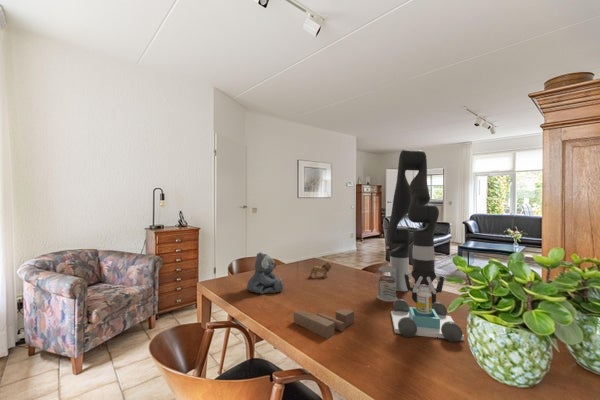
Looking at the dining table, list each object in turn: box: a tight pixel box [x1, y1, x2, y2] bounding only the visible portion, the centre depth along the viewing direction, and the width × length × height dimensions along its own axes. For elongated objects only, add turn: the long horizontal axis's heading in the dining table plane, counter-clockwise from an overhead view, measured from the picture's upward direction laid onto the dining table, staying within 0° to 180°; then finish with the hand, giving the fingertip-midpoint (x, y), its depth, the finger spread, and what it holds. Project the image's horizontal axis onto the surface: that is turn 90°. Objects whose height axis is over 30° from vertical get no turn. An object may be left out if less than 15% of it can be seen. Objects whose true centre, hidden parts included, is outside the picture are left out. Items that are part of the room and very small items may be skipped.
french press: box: [372, 245, 399, 302], centre depth 130 cm, size 10×12×25 cm
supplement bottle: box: [415, 285, 432, 314], centre depth 101 cm, size 5×5×10 cm
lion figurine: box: [308, 261, 332, 279], centre depth 166 cm, size 15×5×9 cm, turn 107°
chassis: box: [390, 298, 465, 343], centre depth 101 cm, size 20×22×6 cm
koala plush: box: [246, 252, 284, 295], centre depth 143 cm, size 17×18×20 cm
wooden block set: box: [293, 308, 355, 339], centre depth 104 cm, size 17×6×18 cm
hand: (423, 302), depth 101 cm, fingers closed on supplement bottle, 5 cm apart
